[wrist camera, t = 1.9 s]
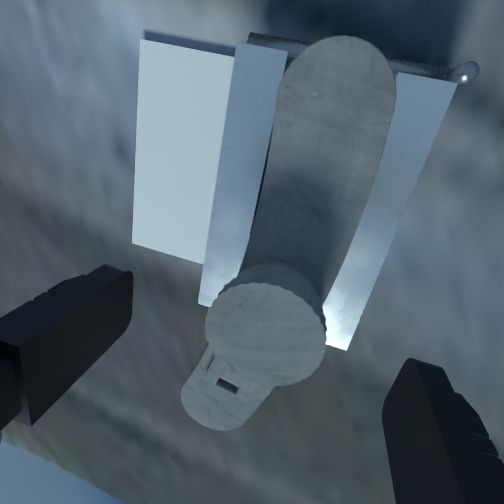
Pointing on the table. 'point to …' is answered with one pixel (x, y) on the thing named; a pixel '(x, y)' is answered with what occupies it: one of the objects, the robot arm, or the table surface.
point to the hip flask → (296, 230)
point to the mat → (178, 146)
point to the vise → (256, 156)
